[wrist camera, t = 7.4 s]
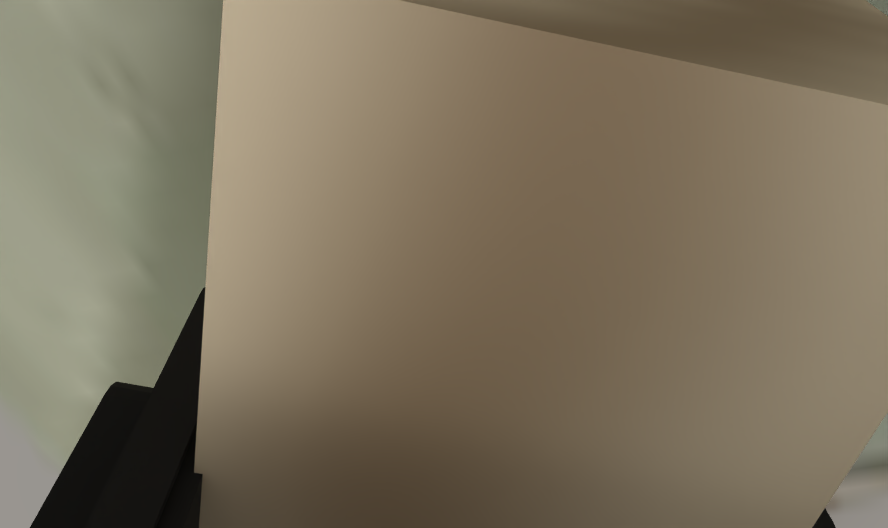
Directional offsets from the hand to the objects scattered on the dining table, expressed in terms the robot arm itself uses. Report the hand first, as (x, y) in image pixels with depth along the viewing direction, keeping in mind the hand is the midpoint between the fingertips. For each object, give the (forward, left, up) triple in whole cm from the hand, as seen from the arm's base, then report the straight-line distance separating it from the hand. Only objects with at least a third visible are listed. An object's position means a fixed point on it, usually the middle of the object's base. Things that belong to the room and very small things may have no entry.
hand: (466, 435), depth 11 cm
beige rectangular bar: (0, +3, -1) cm, 3 cm away
